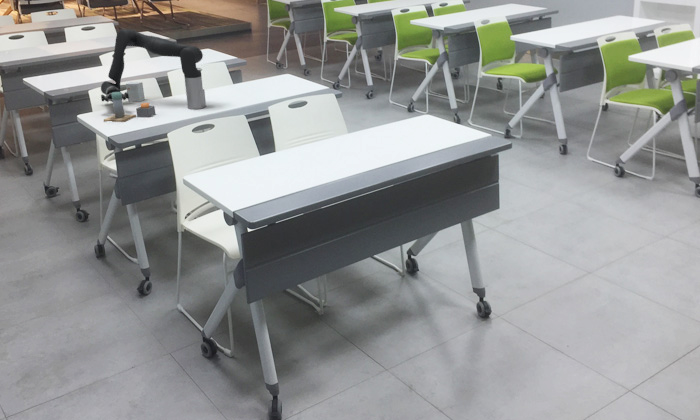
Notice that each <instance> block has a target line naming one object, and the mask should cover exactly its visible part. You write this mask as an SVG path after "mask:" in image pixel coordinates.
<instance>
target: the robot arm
mask: <svg viewBox="0 0 700 420" xmlns="http://www.w3.org/2000/svg"><path fill="white" fill-rule="evenodd" d="M128 47H138V48H142V49H145V50H147V51H148V52H150V53H152V54H154V55H157V56H162V57H174V58H180V64H181V70H182V73H183V77H184V84H185V85H184V86H185V93H186V103H187V109H189V110H199V109H204V108H206V107H207V102H206V92H205V89H204V87H203V78H202V71H201V70H200V69H198V68H197V63H199V62H201V61H202V60H203V58H204V57H203V56H204V54H203V52H202V50H201V49H200V48H199V47H198V46H195V45H189V44H187V45H186V44H182V43H178V42H175V41H173V40H168V39H165V38H162V37H158V36H154V35H146V34H144V33H141V32H139V31H136V30H135V29H130V28H128V29H127V28H122V29H119V30H118V32H117V34H116V37H115V44H114V51H113V57H112V62H111V65H110V68H109V72H108V75H107V76H108V78H109V79H110V80H112V81H114V82H115V83H113V82H110V81H103V82H102V84H101V86H100V91H101V93H102V94H100V98H101V102H107V103H109V102H112V103H113V100H112V94H111V93H113V92H121V79H122V76H123V73H124V69H125V58H124V57H125V56H124V54H125V51H126V48H128ZM121 94H122V101H126V100H128V99H129V94H128V93H127V91H125V92H124V93H122V92H121Z"/></svg>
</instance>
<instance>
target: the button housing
mask: <svg viewBox="0 0 700 420" xmlns="http://www.w3.org/2000/svg"><path fill="white" fill-rule="evenodd" d="M154 115H156V106H155V105H149V108H141V106H139V107H137V108H136V117H137V118H151V117H153V116H154Z"/></svg>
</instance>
